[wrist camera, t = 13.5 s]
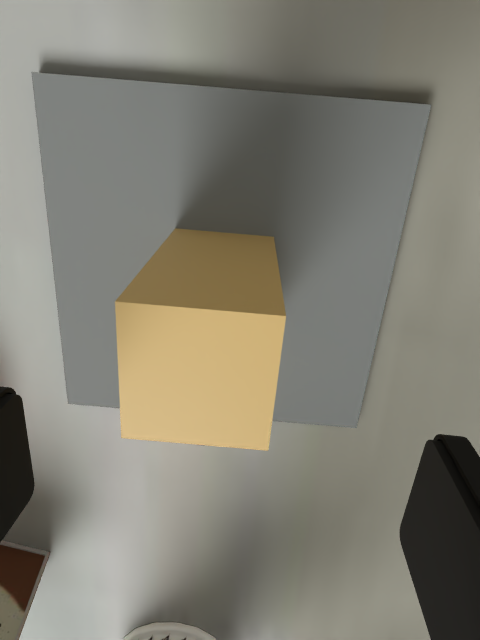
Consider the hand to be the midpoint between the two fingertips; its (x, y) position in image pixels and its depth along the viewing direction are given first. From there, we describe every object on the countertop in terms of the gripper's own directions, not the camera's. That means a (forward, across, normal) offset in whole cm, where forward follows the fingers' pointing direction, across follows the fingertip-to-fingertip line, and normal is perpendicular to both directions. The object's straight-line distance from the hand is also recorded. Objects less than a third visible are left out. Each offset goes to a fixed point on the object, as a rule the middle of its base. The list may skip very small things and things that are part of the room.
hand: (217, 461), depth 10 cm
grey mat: (+12, +1, -1) cm, 12 cm away
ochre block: (+12, +1, -1) cm, 12 cm away
